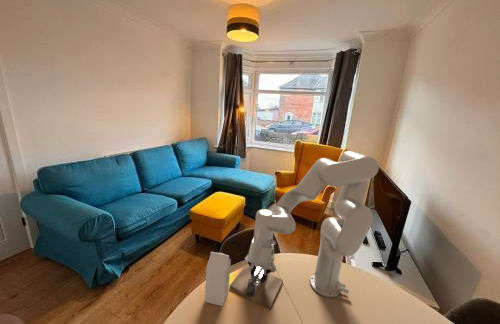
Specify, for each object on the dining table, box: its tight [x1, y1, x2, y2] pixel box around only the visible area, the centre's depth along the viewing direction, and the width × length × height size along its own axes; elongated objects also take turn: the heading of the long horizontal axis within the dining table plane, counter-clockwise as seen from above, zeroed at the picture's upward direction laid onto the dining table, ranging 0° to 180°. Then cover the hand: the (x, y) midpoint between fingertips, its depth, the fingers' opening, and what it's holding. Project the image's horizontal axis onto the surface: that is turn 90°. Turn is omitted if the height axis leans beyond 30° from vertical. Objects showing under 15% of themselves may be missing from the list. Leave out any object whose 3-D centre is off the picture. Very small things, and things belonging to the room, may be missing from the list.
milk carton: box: [204, 251, 232, 307], centre depth 79 cm, size 7×7×19 cm
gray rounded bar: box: [247, 266, 268, 297], centre depth 87 cm, size 15×4×4 cm, turn 153°
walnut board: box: [228, 263, 284, 310], centre depth 88 cm, size 18×15×2 cm
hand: (258, 278), depth 88 cm, fingers open, 4 cm apart
